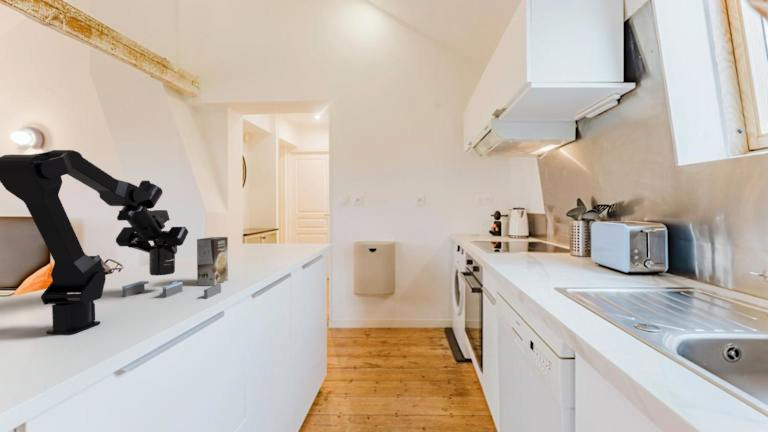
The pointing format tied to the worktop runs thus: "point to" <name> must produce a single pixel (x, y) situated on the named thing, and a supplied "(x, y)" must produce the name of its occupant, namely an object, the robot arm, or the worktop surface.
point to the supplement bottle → (161, 258)
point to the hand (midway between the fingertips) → (164, 252)
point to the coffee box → (212, 260)
